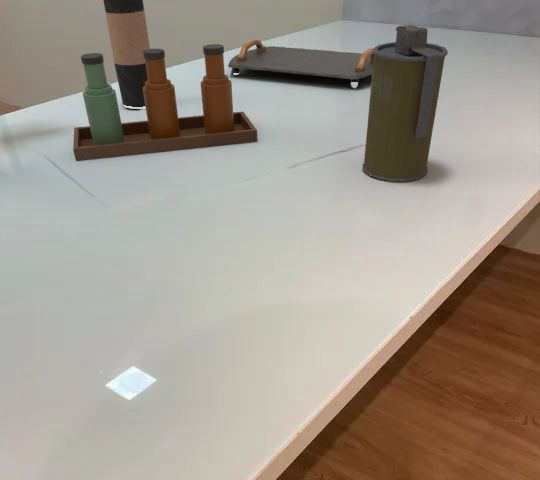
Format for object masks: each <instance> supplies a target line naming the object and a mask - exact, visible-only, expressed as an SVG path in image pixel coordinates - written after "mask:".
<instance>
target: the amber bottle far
mask: <svg viewBox="0 0 540 480" xmlns="http://www.w3.org/2000/svg"><path fill="white" fill-rule="evenodd" d="M202 53H203V55H204V65H205V75H203V77H202V80H201V81H200V92H201V94H200V95H201V103H202V115H203V116H204V127H205V134H211V133H221V132H231V131H234V117H233V112H234V102H233V86H232V85H233V84H232V80H231V79H229V75H227V74H225V59H224V53H225V46H224V45H223V44H219V43H212V44H205V45H203V46H202Z"/></svg>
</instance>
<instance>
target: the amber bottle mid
mask: <svg viewBox="0 0 540 480" xmlns="http://www.w3.org/2000/svg"><path fill="white" fill-rule="evenodd" d="M165 52H166V51H165V50H164V49H163V48H150V49H147V50H144V51H143V56H144V59H145V63H146V70H147V77H148V81H146V82H145V86H144V87H143V94H144V100H145V107H146V109H145V111H146V113H145V114H146V117H147V118H146V119H147V120H146V121H148V126H149V133H150V139H151V140H152V139H162V138H172V137H180V129H179V121H178V118H179V114H178V105H177V97H176V88H175V85H174V84H173V83H172V81H171V79H168V75H167V68H166V60H165V57H166V53H165Z"/></svg>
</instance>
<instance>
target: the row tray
mask: <svg viewBox="0 0 540 480" xmlns="http://www.w3.org/2000/svg"><path fill="white" fill-rule="evenodd" d="M233 117H234V131H231V132H221V133H211V134H205V127H204V116H203V114H202V115H192V116H181V117H180V116H179V117H178V121H179V129H180V137H172V138H162V139H152V140H151V139H150V133H149V126H148V120H140V121H139V120H138V121H129V122H121V124H122V129H123V135H124V140H125V142H123V143H113V144H104V145H94V143H93V139H92V134H91V130H90V125H87V126H78V127H77V126H76V127H74V128H73V144H72V151H73V155H74V158H75V161H76V162H82V161H84V162H85V161H92V160H101V159H111V158H121V157H129V156H130V157H131V156H138V155H147V154H159V153H167V152H175V151H186V150H195V149H204V148H205V149H206V148H214V147H223V146H231V145H242V144H243V145H244V144H252V143H258V130H257V128H256V127H255V125H254V124H253V122H251V120H250V118H249V117H248V116H247V114H246V113H245V112H244V111H233Z"/></svg>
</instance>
